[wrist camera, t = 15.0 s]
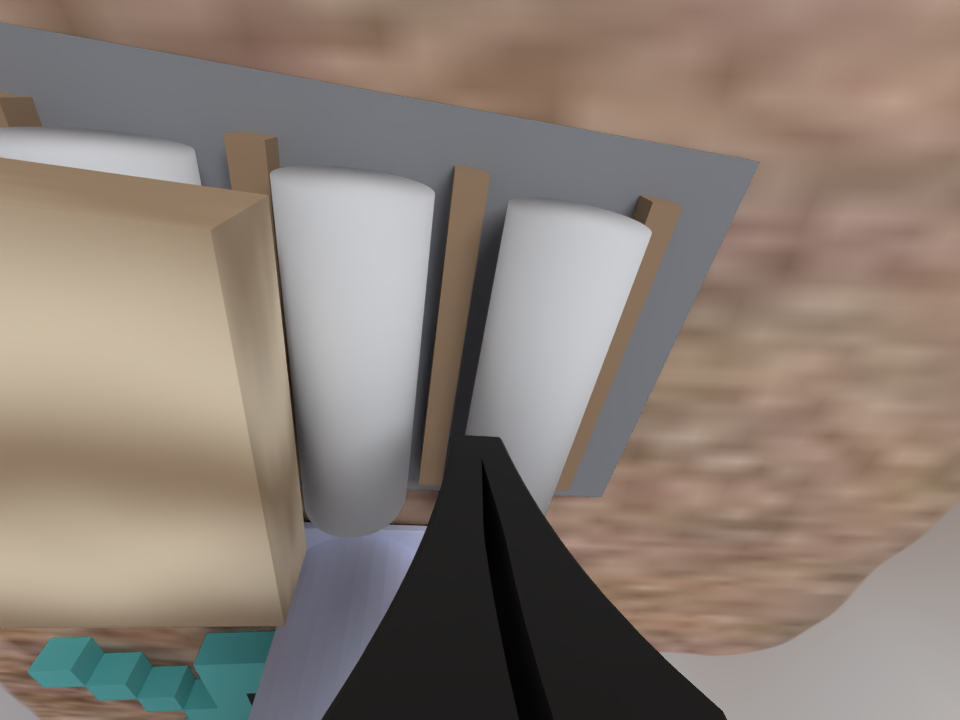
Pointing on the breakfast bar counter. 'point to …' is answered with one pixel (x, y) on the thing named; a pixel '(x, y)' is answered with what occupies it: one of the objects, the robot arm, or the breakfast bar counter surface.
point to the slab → (142, 406)
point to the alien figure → (163, 674)
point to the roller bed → (421, 159)
